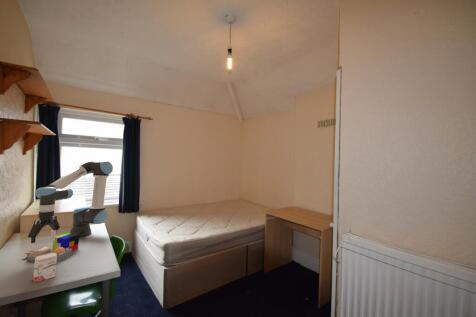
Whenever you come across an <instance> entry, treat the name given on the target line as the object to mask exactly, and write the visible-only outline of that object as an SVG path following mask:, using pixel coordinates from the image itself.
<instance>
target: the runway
mask: <svg viewBox="0 0 476 317" xmlns="http://www.w3.org/2000/svg"><path fill="white" fill-rule="evenodd" d="M34 251H35V252H32V253H31V254H30V255H29V257H28V258H27V261H34V262H35V257H37V256H41V255H46V254H50V253H53V252H54V251H52V249H51V247H49V246H44V247H42V248H40V249H38V250H34ZM72 255H73V251H72V249H69V250H65V252H63V253H61V254H59V255H58V256H57V263H58V262H59V263H60V262H61V261H62V260H64V259H65V260H66V258H68V257H70V256H72Z"/></svg>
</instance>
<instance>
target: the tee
mask: <svg viewBox="0 0 476 317" xmlns="http://www.w3.org/2000/svg"><path fill="white" fill-rule="evenodd" d="M35 251H36V250H29V251H26V252H25V253H24V255H26V259H28V257H29V255H30V254H31V253H32V252H35Z"/></svg>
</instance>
